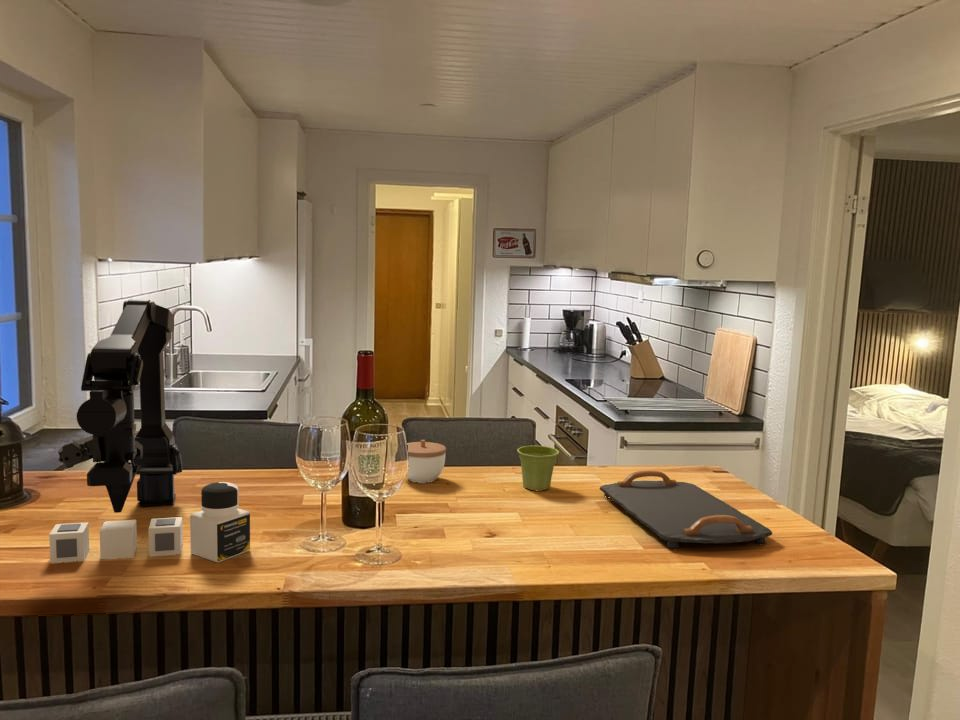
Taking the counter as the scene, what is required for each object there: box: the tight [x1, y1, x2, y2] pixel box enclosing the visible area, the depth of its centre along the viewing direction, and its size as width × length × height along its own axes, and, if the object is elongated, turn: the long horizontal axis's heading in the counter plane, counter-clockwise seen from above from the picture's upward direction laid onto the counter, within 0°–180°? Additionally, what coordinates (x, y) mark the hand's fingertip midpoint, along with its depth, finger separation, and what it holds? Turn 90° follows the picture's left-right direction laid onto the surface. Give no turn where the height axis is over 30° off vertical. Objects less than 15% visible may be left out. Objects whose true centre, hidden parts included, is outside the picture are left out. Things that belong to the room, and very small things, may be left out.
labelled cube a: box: [148, 516, 184, 557], centre depth 138 cm, size 5×5×5 cm
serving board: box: [599, 469, 773, 550], centre depth 164 cm, size 39×23×6 cm, turn 13°
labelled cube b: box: [48, 521, 90, 564], centre depth 133 cm, size 5×5×5 cm
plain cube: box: [99, 519, 138, 560], centre depth 136 cm, size 5×5×5 cm
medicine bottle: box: [189, 481, 251, 563], centre depth 137 cm, size 7×7×12 cm
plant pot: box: [516, 445, 560, 491], centre depth 182 cm, size 9×9×9 cm
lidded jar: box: [406, 439, 447, 484], centre depth 185 cm, size 11×11×9 cm
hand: (118, 511), depth 135 cm, fingers closed
